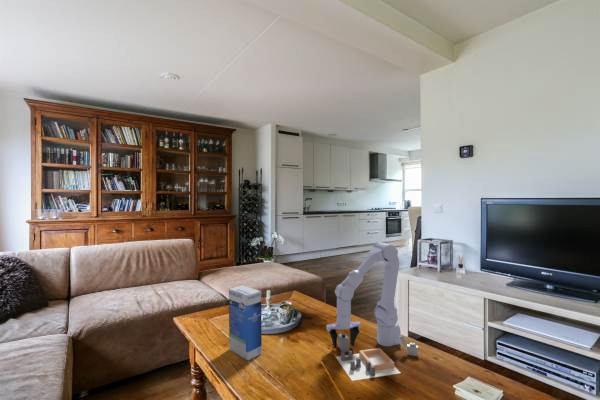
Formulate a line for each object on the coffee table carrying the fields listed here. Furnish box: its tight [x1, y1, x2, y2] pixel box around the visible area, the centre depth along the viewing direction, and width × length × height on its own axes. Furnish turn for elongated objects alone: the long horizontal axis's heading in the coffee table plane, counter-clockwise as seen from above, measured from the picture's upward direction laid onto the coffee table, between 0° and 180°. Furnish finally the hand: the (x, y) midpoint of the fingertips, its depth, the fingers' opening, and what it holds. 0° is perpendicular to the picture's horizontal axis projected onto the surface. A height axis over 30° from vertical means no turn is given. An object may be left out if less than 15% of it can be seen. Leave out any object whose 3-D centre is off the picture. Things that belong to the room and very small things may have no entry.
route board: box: [335, 350, 401, 382], centre depth 114 cm, size 19×16×4 cm
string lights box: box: [228, 284, 263, 361], centre depth 124 cm, size 13×8×26 cm, turn 47°
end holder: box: [358, 347, 395, 371], centre depth 116 cm, size 9×11×2 cm
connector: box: [337, 332, 350, 353], centre depth 125 cm, size 3×5×7 cm, turn 14°
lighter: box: [399, 334, 419, 357], centre depth 122 cm, size 7×2×8 cm, turn 72°
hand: (343, 346), depth 125 cm, fingers open, 7 cm apart
